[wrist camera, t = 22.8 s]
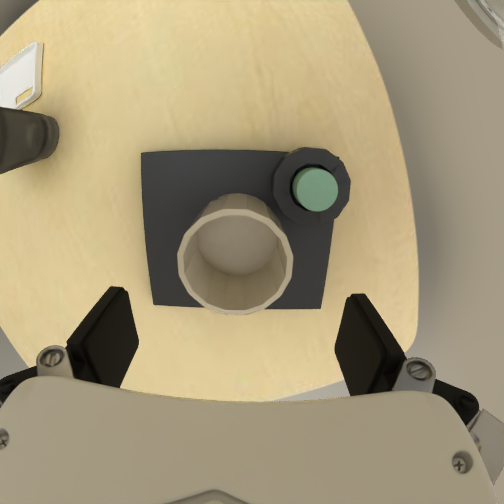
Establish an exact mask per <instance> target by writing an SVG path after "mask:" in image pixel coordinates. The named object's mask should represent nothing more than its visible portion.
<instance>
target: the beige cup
mask: <svg viewBox="0 0 504 504" xmlns="http://www.w3.org/2000/svg"><path fill="white" fill-rule="evenodd" d="M177 260H178V272H179V276H180V278H181V280H182V282H183V284H184V286H185V288H186V290H187V292H188V293H189V294H190V295H191V296H192V297H193V298H194V299H195V300H197V301H198V302H199V303H200V304H201V305H202V306H204V307H205V308H208V309H211V310H213V311H216V312H219V313H221V314H225V315H247V314H250V313H253V312H256V311H259V310H262V309H265V308H266V307H268V306H269V305H270V304H271V303H273V302H274V301H275V300H276V299H278V298H279V297H280V296H281V295H282V293H283V292H284V290H285V288H286V286H287V285H288V283H289V281H290V279H291V277H292V267H293V254H292V251H291V248H290V245H289V242H288V239H287V237H286V234H285V232H284V230H283V228H282V226H281V223H280V221H279V219H278V217H277V215H276V214H275V213H274V212H273V210H272V209H271V208H270V207H269V206H268V205H267V204H266V203H265V202H263V201H262V200H260V199H258V198H256V197H254V196H251V195H248V194H241V193H232V194H226V195H223V196H220V197H218V198H216V199H214V200H213V201H211V202H210V203H209V204H207V205H206V206H205V207H204V209H203V210H202V211H201V212H200V213H199V214H198V215H197V217H196V218H195V220H194V221H193V223H192V224H191V225H190V227H189V228H188V230H187V231H186V233H185V234H184V237H183V239H182V242H181V245H180V248H179V250H178V253H177Z"/></svg>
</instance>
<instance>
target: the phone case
mask: <svg viewBox="0 0 504 504" xmlns="http://www.w3.org/2000/svg"><path fill="white" fill-rule="evenodd" d="M42 53H43V44H42V43H39V42H36V41H35V42H33V43H31V44H30V45H28V46H27V47H25V48H24V49H23V50H21V51H20V52H19V53H17V54H16V55H15V56H14V57H12V58H11V59H10V60H9V61H7V62H6V63H5V64H4V65H3V66H1V67H0V107H5V108H12V109H18V110H21V109H22V108H24V107H25V106H27V105H28V104H30V103H31V102H33V101H35V100H36V99H37V98H38V97H39V96H40V95H41V75H42ZM31 87H33V90H32V93H31V94H30V95H29V96H28V97H27V98H26V99H24V100H23V101H21V102H20V103H18V104H17V105H16V98H17V97H18V96H19V95H21V94H22V93H24V92H25V91H27V90H28V89H30V88H31Z"/></svg>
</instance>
